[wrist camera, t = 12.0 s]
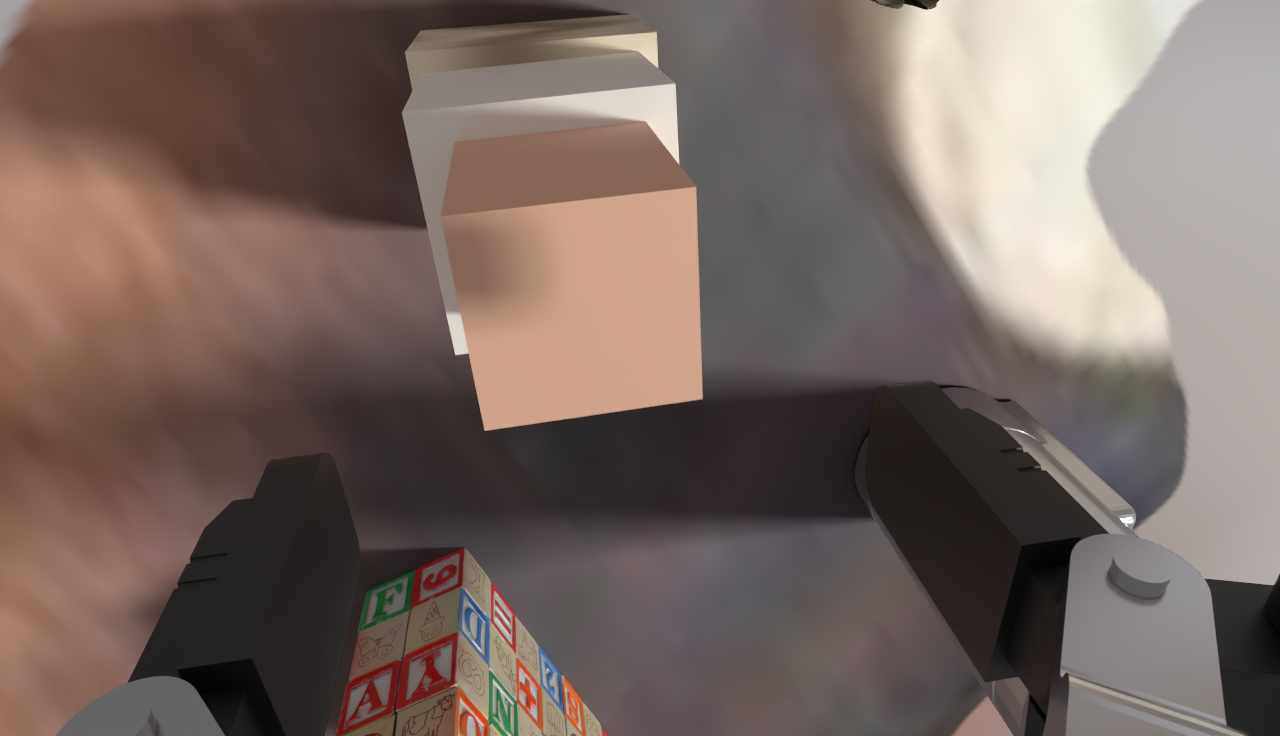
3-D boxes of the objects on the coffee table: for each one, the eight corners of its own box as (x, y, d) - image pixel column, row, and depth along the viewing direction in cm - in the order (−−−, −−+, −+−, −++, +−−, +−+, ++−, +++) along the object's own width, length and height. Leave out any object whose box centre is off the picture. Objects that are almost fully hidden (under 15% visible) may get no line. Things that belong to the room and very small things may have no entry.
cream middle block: (638, 51, 25) (675, 83, 20) (652, 252, 29) (686, 322, 24) (421, 73, 24) (401, 112, 19) (462, 276, 28) (455, 355, 23)
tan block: (645, 121, 20) (696, 186, 15) (656, 293, 23) (702, 399, 18) (455, 141, 20) (440, 216, 15) (487, 315, 22) (484, 430, 17)
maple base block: (629, 14, 30) (656, 32, 25) (640, 211, 34) (665, 262, 29) (420, 30, 29) (405, 52, 24) (457, 231, 33) (450, 287, 28)
